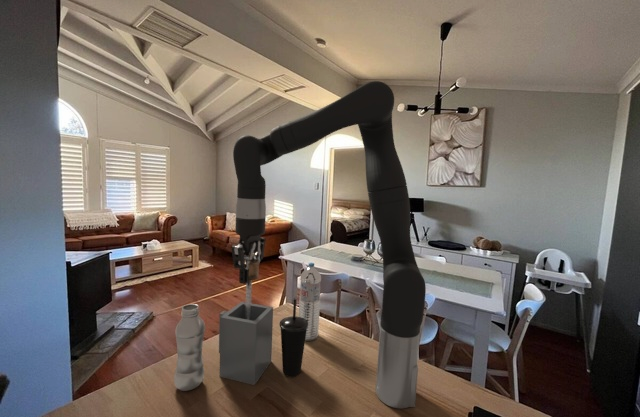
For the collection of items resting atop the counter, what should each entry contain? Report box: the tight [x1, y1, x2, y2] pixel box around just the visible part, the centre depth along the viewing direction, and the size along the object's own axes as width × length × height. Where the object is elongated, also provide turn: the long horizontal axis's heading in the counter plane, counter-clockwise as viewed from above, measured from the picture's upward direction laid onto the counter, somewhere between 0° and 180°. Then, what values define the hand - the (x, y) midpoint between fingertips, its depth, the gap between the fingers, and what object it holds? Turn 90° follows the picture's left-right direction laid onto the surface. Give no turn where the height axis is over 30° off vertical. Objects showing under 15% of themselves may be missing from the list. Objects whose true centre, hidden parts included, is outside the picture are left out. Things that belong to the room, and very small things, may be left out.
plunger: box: [245, 260, 260, 320], centre depth 75 cm, size 7×7×20 cm
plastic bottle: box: [173, 303, 206, 392], centre depth 68 cm, size 6×7×20 cm
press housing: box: [218, 301, 274, 386], centre depth 76 cm, size 13×10×16 cm
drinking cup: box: [279, 299, 308, 378], centre depth 75 cm, size 8×8×20 cm
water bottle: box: [298, 262, 322, 342], centre depth 93 cm, size 7×7×25 cm
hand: (249, 279), depth 74 cm, fingers closed on plunger, 4 cm apart
